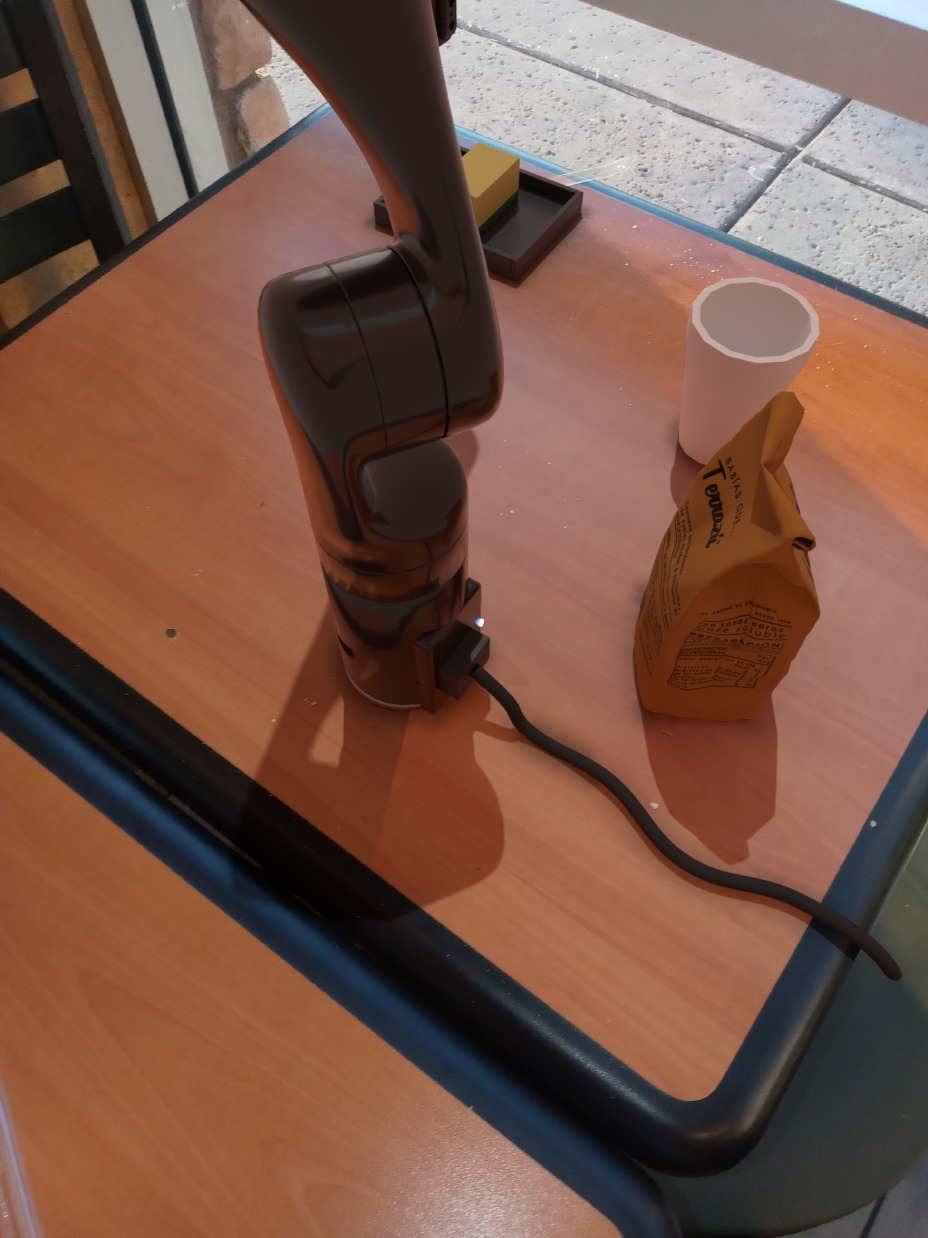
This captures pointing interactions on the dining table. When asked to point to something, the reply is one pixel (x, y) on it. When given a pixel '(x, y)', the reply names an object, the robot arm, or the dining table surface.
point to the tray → (520, 223)
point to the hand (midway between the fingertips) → (397, 26)
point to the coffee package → (730, 580)
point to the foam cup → (740, 357)
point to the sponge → (491, 182)
